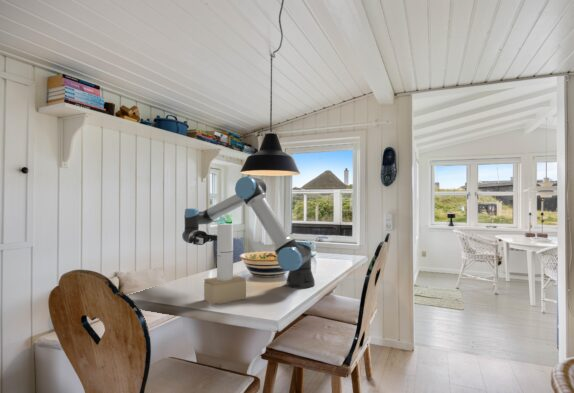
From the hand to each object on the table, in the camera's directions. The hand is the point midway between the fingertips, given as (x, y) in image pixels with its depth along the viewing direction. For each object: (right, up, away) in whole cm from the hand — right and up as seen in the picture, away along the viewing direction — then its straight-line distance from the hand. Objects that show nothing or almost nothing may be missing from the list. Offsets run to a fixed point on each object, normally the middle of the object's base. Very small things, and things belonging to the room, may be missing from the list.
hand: (215, 240), depth 158 cm
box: (+6, -26, -9) cm, 28 cm away
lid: (+6, -18, -8) cm, 20 cm away
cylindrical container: (+6, -17, -8) cm, 20 cm away
